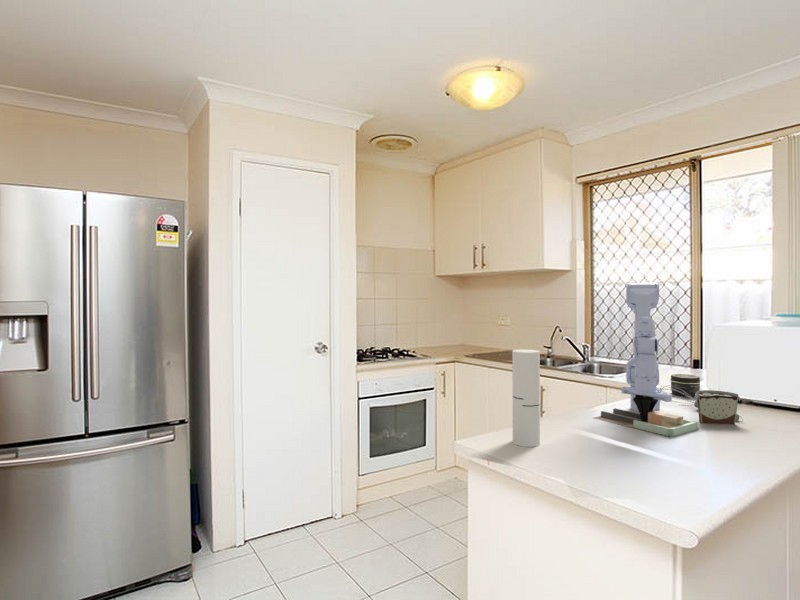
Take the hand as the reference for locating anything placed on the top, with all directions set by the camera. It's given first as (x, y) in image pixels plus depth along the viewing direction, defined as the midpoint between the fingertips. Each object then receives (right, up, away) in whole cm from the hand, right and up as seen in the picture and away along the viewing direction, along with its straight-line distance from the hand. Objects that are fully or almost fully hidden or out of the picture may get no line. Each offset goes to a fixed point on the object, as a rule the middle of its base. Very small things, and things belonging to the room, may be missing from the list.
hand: (645, 421), depth 140 cm
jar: (+39, -1, +44) cm, 59 cm away
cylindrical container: (-40, -2, -15) cm, 43 cm away
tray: (+3, -1, -5) cm, 6 cm away
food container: (+22, -2, +2) cm, 22 cm away
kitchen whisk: (+29, -2, +21) cm, 36 cm away
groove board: (0, -2, 0) cm, 2 cm away
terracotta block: (+2, -1, -3) cm, 4 cm away
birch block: (+4, -1, -7) cm, 8 cm away
